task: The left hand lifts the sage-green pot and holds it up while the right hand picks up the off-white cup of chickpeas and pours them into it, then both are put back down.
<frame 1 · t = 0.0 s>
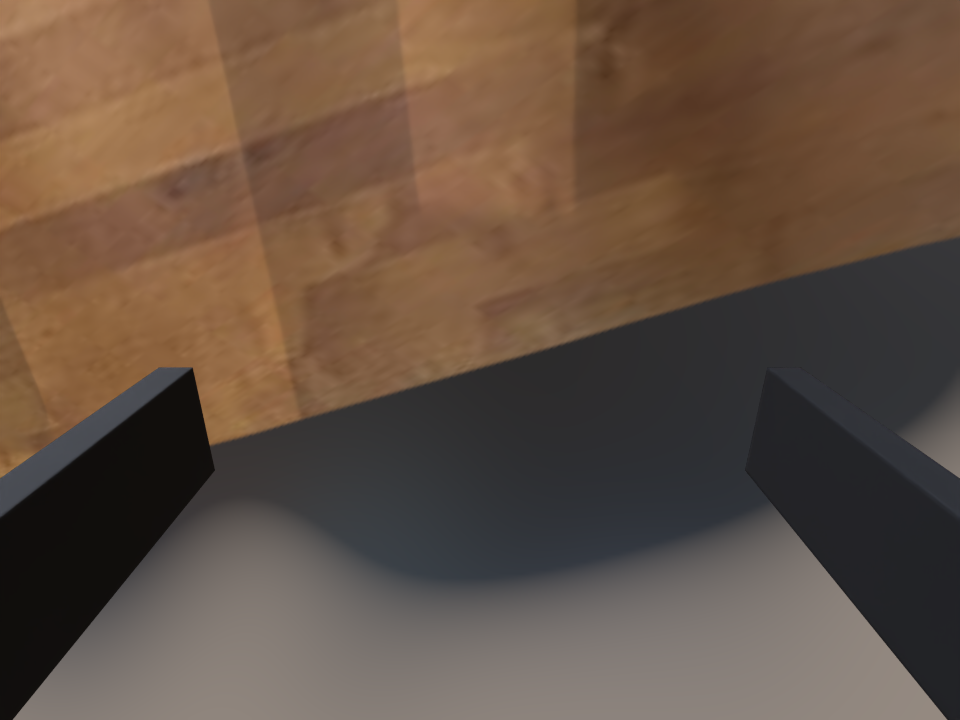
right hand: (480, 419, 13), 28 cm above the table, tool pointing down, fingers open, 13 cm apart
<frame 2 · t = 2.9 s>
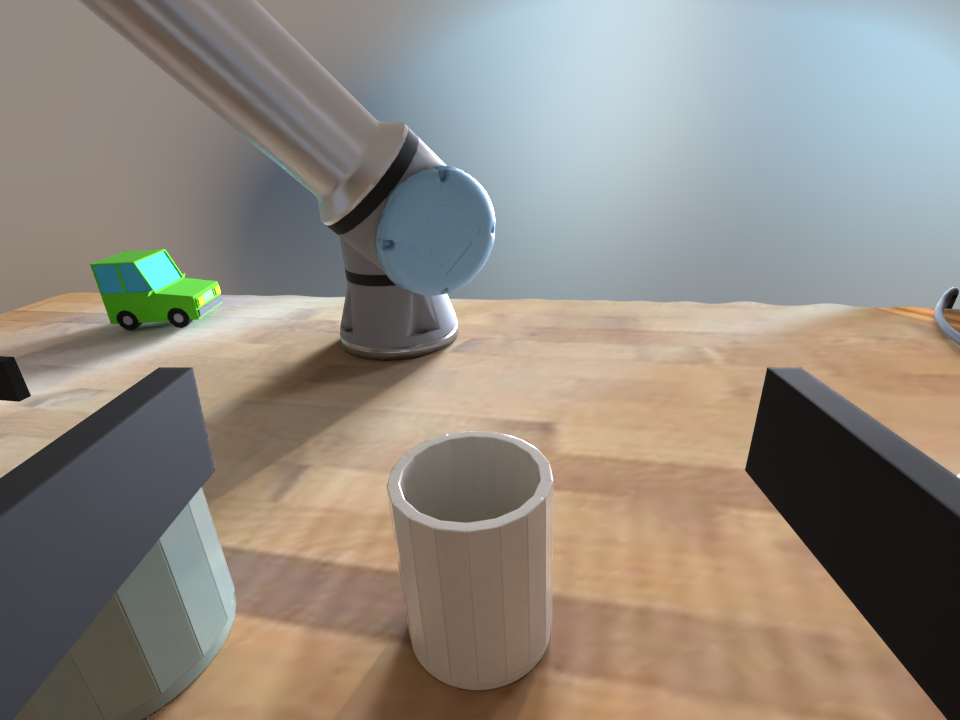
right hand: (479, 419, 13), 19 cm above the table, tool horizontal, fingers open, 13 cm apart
cup: (480, 622, 30), on the table, 95 chickpeas inside
pot: (127, 640, 30), on the table, 0 chickpeas inside
toy car: (173, 321, 82), on the table
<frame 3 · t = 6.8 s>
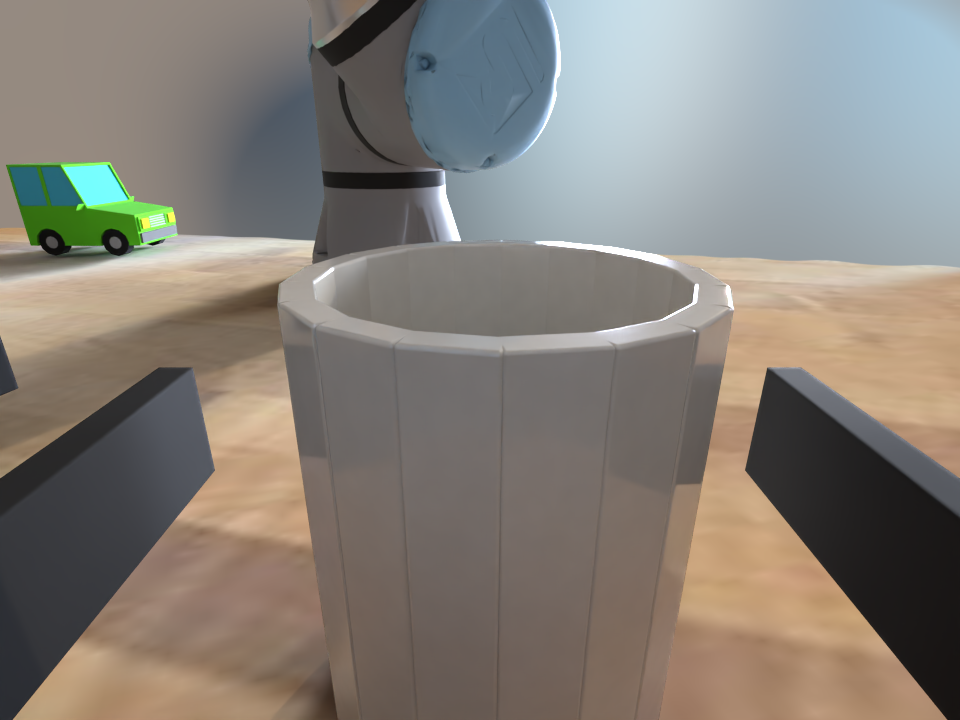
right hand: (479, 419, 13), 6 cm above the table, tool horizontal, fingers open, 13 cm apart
cup: (495, 663, 14), on the table, 95 chickpeas inside
toy car: (113, 251, 67), on the table
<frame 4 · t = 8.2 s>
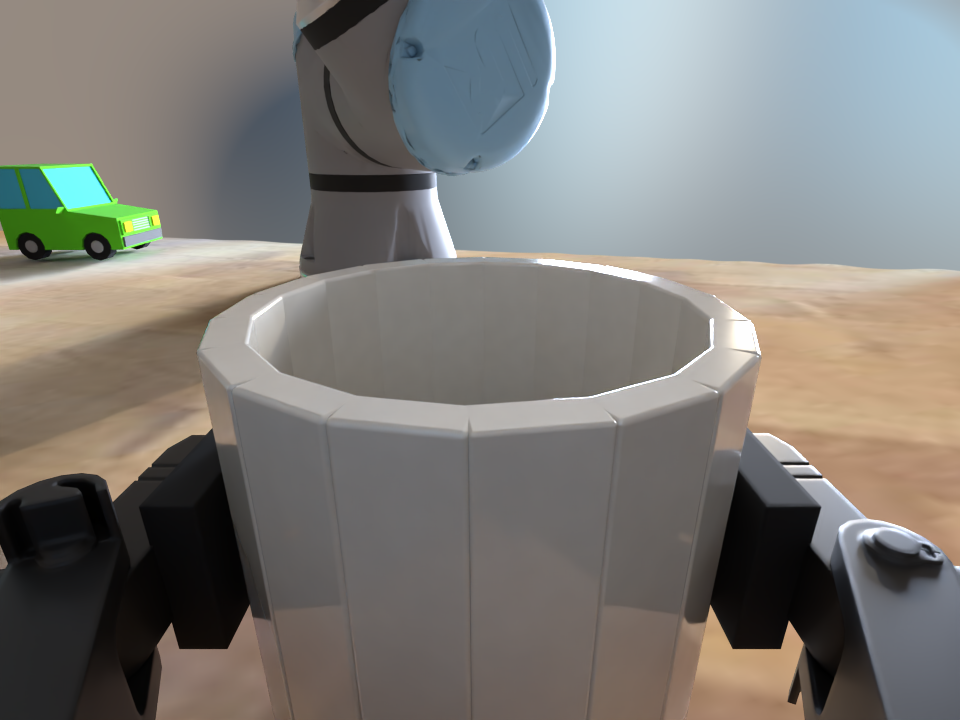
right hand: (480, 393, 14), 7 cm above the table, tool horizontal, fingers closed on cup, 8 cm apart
toy car: (95, 255, 65), on the table
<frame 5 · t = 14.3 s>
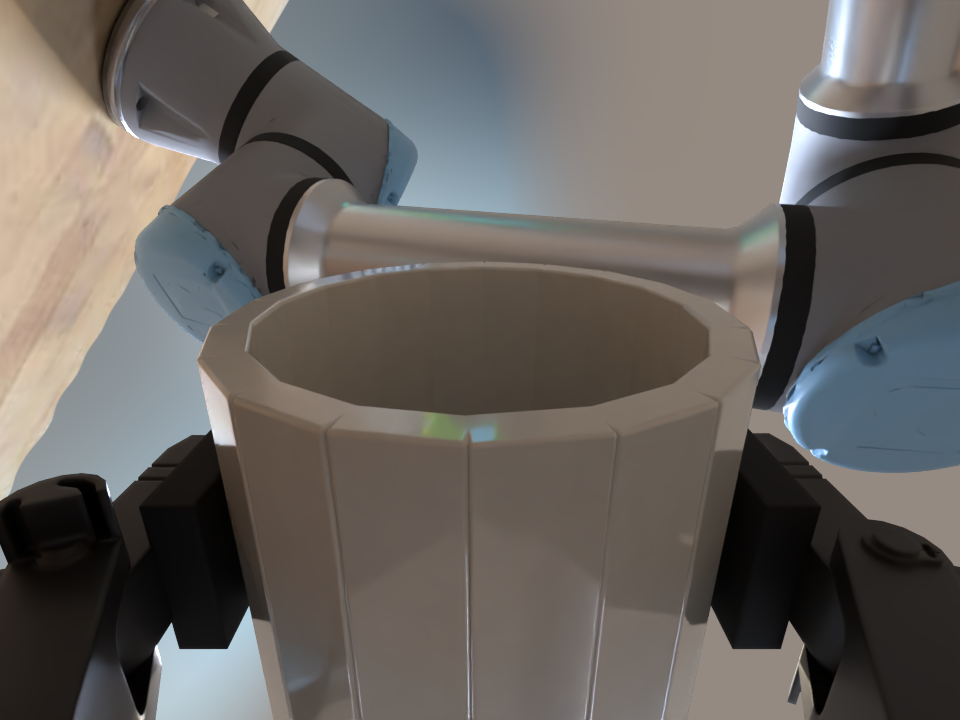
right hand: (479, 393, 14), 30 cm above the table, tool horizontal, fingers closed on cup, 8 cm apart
when the left hand's fingers open (7 cm above the table, at t = 20.1 s): pot stays where it is, on the table.
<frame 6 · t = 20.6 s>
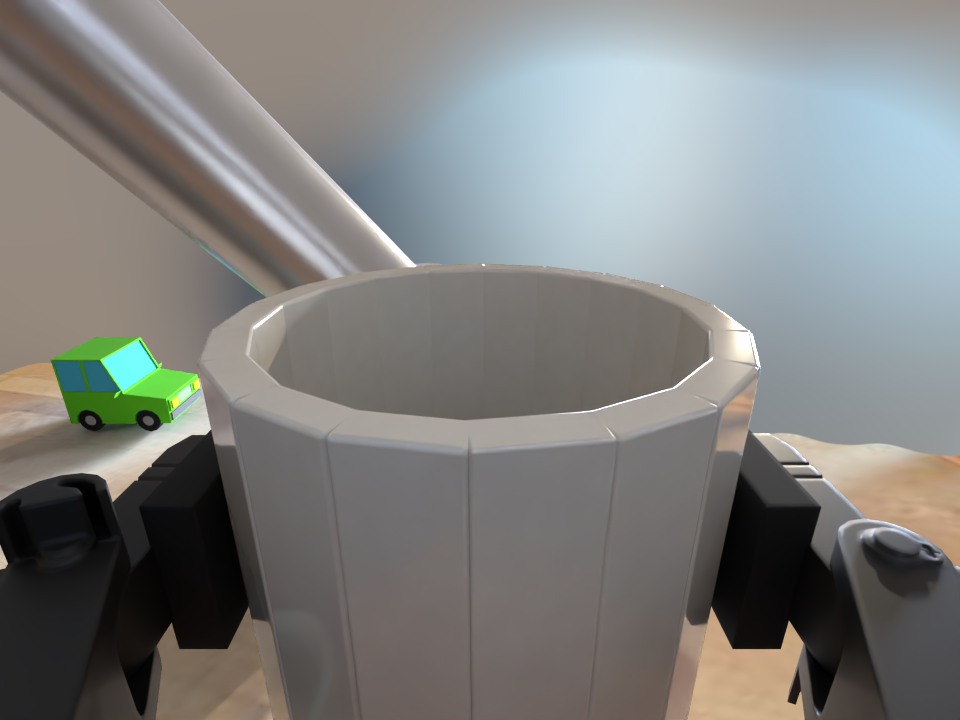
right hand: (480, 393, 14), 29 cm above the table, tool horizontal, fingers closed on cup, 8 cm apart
toy car: (144, 418, 73), on the table
when the right hand's fingers open (7 cm above the table, at t = 25.3 s): cup stays where it is, on the table.
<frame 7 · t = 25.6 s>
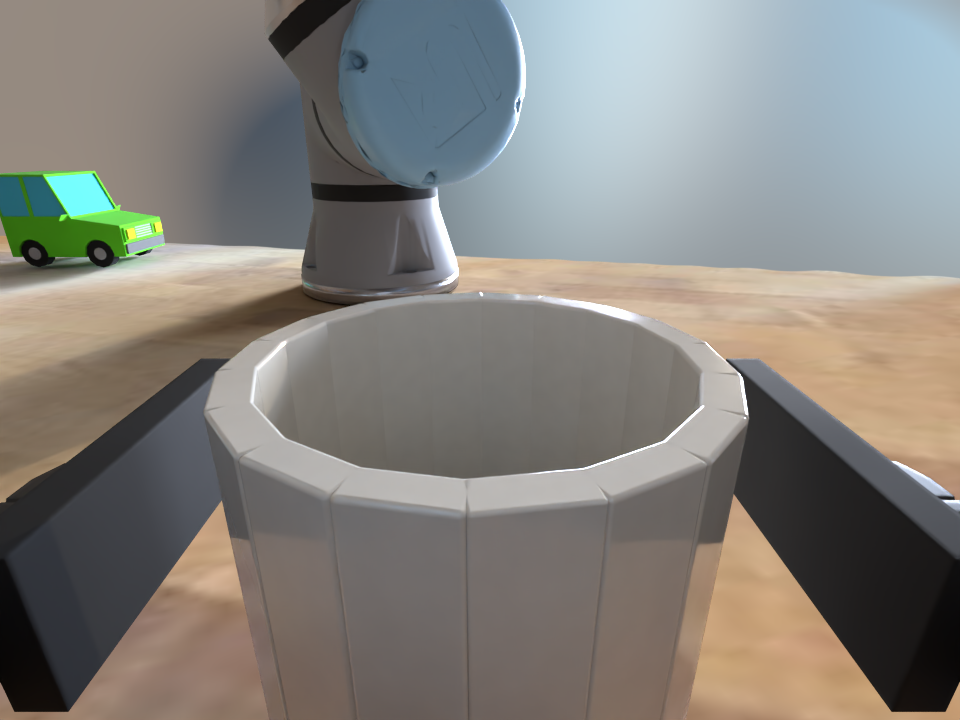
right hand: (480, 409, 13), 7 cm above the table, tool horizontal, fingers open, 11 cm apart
toy car: (98, 261, 65), on the table
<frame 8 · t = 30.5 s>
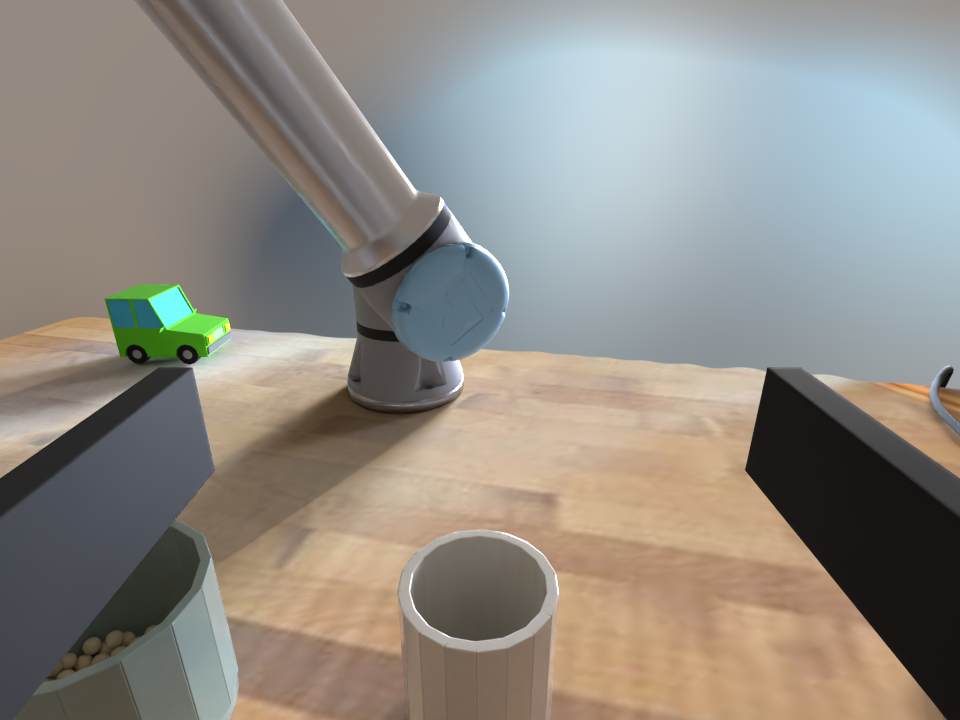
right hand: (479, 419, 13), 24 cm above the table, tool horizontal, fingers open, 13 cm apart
cup: (478, 719, 31), on the table, 0 chickpeas inside
pot: (129, 718, 31), on the table, 95 chickpeas inside
toy car: (181, 355, 83), on the table
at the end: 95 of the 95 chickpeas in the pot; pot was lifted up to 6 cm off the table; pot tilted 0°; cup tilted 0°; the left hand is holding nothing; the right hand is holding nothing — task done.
